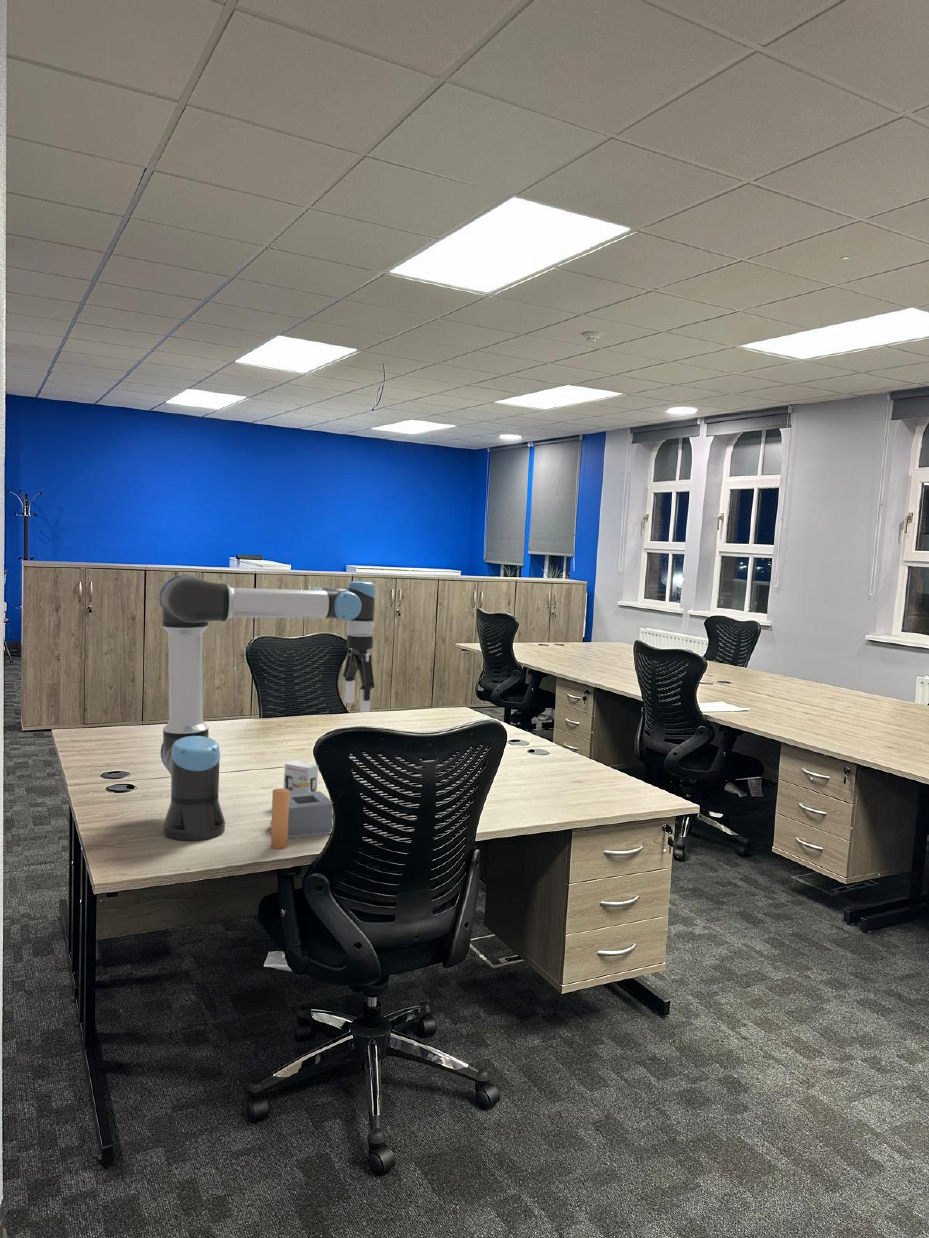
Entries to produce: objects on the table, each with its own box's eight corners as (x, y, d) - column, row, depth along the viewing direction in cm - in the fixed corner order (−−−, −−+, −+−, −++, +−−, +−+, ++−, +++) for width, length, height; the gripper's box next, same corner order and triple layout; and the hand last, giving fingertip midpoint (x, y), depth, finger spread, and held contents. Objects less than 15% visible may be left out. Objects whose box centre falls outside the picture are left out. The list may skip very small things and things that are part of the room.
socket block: (286, 839, 222) (287, 809, 221) (271, 822, 234) (271, 794, 234) (338, 832, 229) (339, 804, 228) (321, 816, 241) (322, 789, 240)
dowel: (273, 849, 214) (275, 793, 213) (269, 844, 218) (270, 789, 217) (289, 847, 216) (291, 792, 215) (284, 842, 220) (286, 787, 218)
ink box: (281, 803, 251) (283, 763, 250) (292, 799, 255) (293, 759, 254) (307, 809, 247) (308, 768, 246) (317, 804, 252) (318, 764, 251)
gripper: (387, 640, 245) (384, 714, 247) (358, 630, 267) (355, 698, 269) (362, 640, 241) (359, 715, 243) (334, 629, 264) (331, 699, 266)
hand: (357, 707), depth 256 cm, fingers open, 13 cm apart
